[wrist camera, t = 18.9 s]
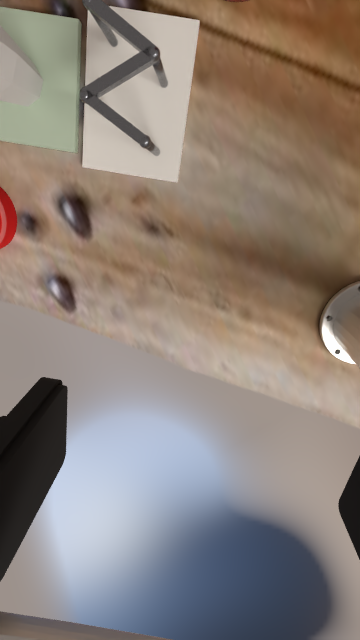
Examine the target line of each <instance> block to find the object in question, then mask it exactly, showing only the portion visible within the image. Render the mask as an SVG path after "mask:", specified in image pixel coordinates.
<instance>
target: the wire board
mask: <svg viewBox="0 0 360 640" xmlns="http://www.w3.org/2000/svg"><path fill="white" fill-rule="evenodd" d="M109 7H110V8H111V9H112V10H113V11H115V12H116V13H117V14H118V15H119V16H121V17H122V18H123V19H124V20H125V21H127V22H128V23H129V24H130V25H131V26H133V27H134V28H135V29H136V30H137V31H139V32H140V33H141V34H142V35H143V36H145V37H146V38H147V39H148V40H149V41H151V42H152V43H153V44H154V45H155V46H157V47H158V48H159V50H160V59H161V62H162V65H163V68H164V71H165V74H166V77H167V80H168V85H167V87H166V88H163V87H161V85H160V83H159V80H158V78H157V75H156V73H155V70H154V68H153V65H152V66H150V67H149V68H147V69H145V70H144V71H142V72H140V73H139V74H137V75H135V76H134V77H132V78H130V79H129V80H127V81H126V82H124V83H122V84H121V85H119V86H117V87H116V88H114V89H112V90H111V91H109V92H108V93H106V94H104V95H103V96H101V97H99V99H100V100H101V101H103V102H104V103H105V104H107V105H108V106H109V107H110V108H112V109H113V110H114V111H116V112H117V113H118V114H119V115H121V116H122V117H123V118H125V119H126V120H127V121H128V122H130V123H131V124H132V125H134V126H135V127H136V128H137V129H139V130H140V131H141V132H143V133H144V134H145V135H148V136H149V137H150V139H151V141H152V142H153V143H154V144H155V145H156V146H157V147H158V148H159V150H160V154H159V155H158V156H155V155H153V154H152V153H151V152H150V151H148V150H147V149H144V148H142V147H141V146H140V144H139V143H137V142H136V141H135V140H133V139H132V138H131V137H129V136H128V135H127V134H126V133H124V132H123V131H122V130H120V129H119V128H118V127H116V126H115V125H114V124H113V123H111V122H110V121H109V120H107V119H106V118H105V117H103V116H102V115H101V114H100V113H98V112H97V111H96V110H94V109H93V108H92V107H91V106H89V105H88V104H86V103H85V105H84V133H83V162H82V167H84V168H90V169H96V170H102V171H108V172H114V173H120V174H126V175H133V176H139V177H145V178H151V179H157V180H163V181H169V182H175V183H178V179H179V171H180V164H181V157H182V150H183V142H184V135H185V128H186V120H187V113H188V106H189V99H190V91H191V84H192V77H193V69H194V62H195V55H196V48H197V40H198V33H199V26H200V20H195V19H189V18H183V17H176V16H170V15H164V14H157V13H151V12H145V11H138V10H132V9H126V8H119V7H113V6H109ZM112 31H113V30H112ZM113 33H114V35H115V36H116V38H117V40H118V44H117V46H116V47H112V46H111V45H110V43H109V42H108V40H107V38H106V37H105V35H104V34H103V32H102V30H101V29H100V27H99V26H98V24H97V22H96V21H95V19H94V18H93V16H92V14H91V13H90V11H89V10H88V19H87V47H86V76H85V86H86V85H88V84H90V83H91V82H93V81H94V80H96V79H98V78H99V77H101V76H102V75H104V74H106V73H107V72H109V71H110V70H112V69H114V68H115V67H117V66H118V65H120V64H122V63H123V62H125V61H126V60H128V59H130V58H131V57H133V56H134V55H136V54H138V53H139V51H138V50H136V49H135V48H134V47H133V46H132V45H130V44H129V43H128V42H127V41H125V40H124V39H123V38H122V37H121V36H119V35H118V34H117V33H116V32H115V31H113Z"/></svg>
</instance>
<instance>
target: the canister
mask: <svg viewBox="0 0 360 640" xmlns="http://www.w3.org/2000/svg"><path fill="white" fill-rule="evenodd" d="M225 1H230V2H243V1H248V0H225Z"/></svg>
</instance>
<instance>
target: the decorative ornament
mask: <svg viewBox="0 0 360 640" xmlns="http://www.w3.org/2000/svg"><path fill="white" fill-rule="evenodd" d="M16 227H17V216H16V211H15V208H14V205H13V203H12V201H11V199H10V197H9V196H8V195H7V193H6V192H5V191H4V190H3V189H2V188H1V187H0V249H1V248H3V247H5V246H6V245H7V244H9V243H10V242H11V240H12V239H13V237H14V235H15V232H16Z"/></svg>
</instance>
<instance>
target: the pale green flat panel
mask: <svg viewBox="0 0 360 640" xmlns="http://www.w3.org/2000/svg"><path fill="white" fill-rule="evenodd" d="M0 25H1V27H2V28H3V29H4V30H5V31H6V32H7V33H8V35H9V36H10V37H11V38H12V39H13V40H14V41H15V43H16V44H17V45H18V46H19V47H20V48H21V49H22V51H23V52H24V53H25V54H26V55H27V56H28V57H29V59H30V60H31V61H32V62H33V63H34V65H35V66H36V68H37V70H38V71H39V73H40V75H41V77H42V78H43V80H44V81H43V85H42V90H41V95H40V98H39V99H38V100H36V101H35V102H34V103H32V104H31V105H30V106H28V107H27V106H22V105H18V104H13V103H9V102H5V101H0V141H4V142H10V143H17V144H23V145H29V146H35V147H41V148H47V149H53V150H60V151H66V152H72V153H78V129H79V93H80V62H81V28H82V23H81V22H80V21H79V19H75V18H69V17H63V16H56V15H50V14H44V13H37V12H31V11H25V10H18V9H12V8H6V7H0Z"/></svg>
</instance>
